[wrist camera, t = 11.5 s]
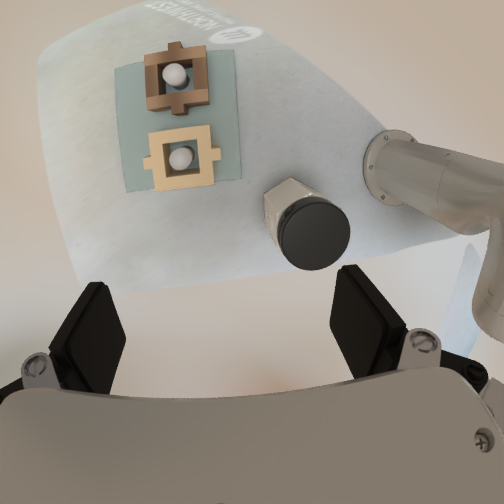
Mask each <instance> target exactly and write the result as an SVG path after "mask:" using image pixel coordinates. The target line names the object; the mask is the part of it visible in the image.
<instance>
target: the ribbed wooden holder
mask: <svg viewBox="0 0 504 504" xmlns="http://www.w3.org/2000/svg"><path fill="white" fill-rule="evenodd" d="M173 63H177V64H180V65H181V66H182V67H183V68H184V69H188V68H193V80H194V90H191V91H183V92H176V93H170V94H166V81H165V80H164V79H163V70H164V69H165V67H166V66H168V65H170V64H173ZM144 66H145V89H146V105H147V110H149V111H153V112H161V111H167V110H171V114H172V115H176V116H183V115H189V114H188V107H195V106H204V105H210V100H209V85H208V68H207V53H206V46H196V47H188V48H183V47H182V44H181V42H180V41H179V42H173V43H168V51H163V52H157V53H152V54H148V55H144Z"/></svg>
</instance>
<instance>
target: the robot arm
mask: <svg viewBox="0 0 504 504" xmlns="http://www.w3.org/2000/svg"><path fill="white" fill-rule="evenodd" d="M368 166H369V168H368ZM363 169H364V177H365V181H366V184H367V187H368V189H369V190H370V192H371V193H372V195H373V196H374V197H375V198H376V199H378V200H379V201H381V202H383V203H385V204H387V205H392V206H395V205H401V204H404V203H405V204H407V205H409V206H411V207H413V208H415V209H416V210H418V211H420V212H422V213H424V214H426V215H427V216H429V217H431V218H433V219H434V220H436V221H438V222H440V223H441V224H443V225H445V226H446V227H448V228H450V229H452V230H453V231H455V232H457V233H459V234H463V235H475V234H479V233H481V232H484V231H486V230H489V229H490V236H489V241H488V246H487V251H486V255H485V259H484V262H483V266H482V269H481V272H480V275H479V279H478V282H477V285H476V288H475V292H474V295H473V300H472V313H473V317H474V319H475V321H476V323H477V325H478V326H479V327H480V328H481V329H482V330H483V331H484V332H485V333H486V334H487V335H489V336H490V337H492V338H494V339H496V340H497V341H500V342H502V343H504V164H502V163H497V162H493V161H490V160H486V159H482V158H478V157H474V156H471V155H467V154H464V153H460V152H456V151H452V150H448V149H443V148H439V147H435V146H430V145H425V144H421V143H418V142H417V140H416V139H415V138H414V137H412V136H411V135H410V134H408V133H406V132H404V131H400V130H387V131H385V132H382V133H381V134H379V135H378V136H376V137H375V139H374V140H373V141H372V142H371V144H370V145H369V147H368V149H367V151H366V154H365V159H364V167H363ZM330 329H331V331H332V333H333V335H334V337H335V339H336V341H337V343H338V345H339V347H340V349H341V352H342V353H343V356H344V358H345V360H346V362H347V364H348V366H349V369H350V371H351V373H352V375H353V377H354V379H353V380H349V381H344V382H339V383H334V384H329V385H323V386H317V387H312V388H306V389H299V390H292V391H285V392H277V393H269V394H261V395H249V396H237V397H219V398H147V397H130V396H117V395H109V394H110V390H111V387H112V383H113V380H114V377H115V373H116V370H117V367H118V364H119V361H120V358H121V355H122V351H123V349H124V346H125V342H126V336H125V333H124V330H123V328H122V325H121V322H120V320H119V317H118V314H117V311H116V308H115V306H114V303H113V300H112V297H111V293H110V290H109V288H108V286H107V285H105V284H104V283H103V282H90V283H89V284H88V285H87V287H86V288H85V290H84V291H83V292H82V294H81V296H80V297H79V298H78V300H77V302H76V303H75V305H74V306H73V308H72V309H71V311H70V312H69V314H68V315H67V317H66V319H65V320H64V322H63V324H62V325H61V327H60V329H59V330H58V332H57V334H56V335H55V337H54V339H53V340H52V342H51V344H50V346H49V347H48V348H49V349H50V351H51V352H50V354H49V355H47V354H46V353H42V352H40V353H35V354H33V355H31V356H29V357H28V358H27V359H26V360H25V361H24V363H23V365H22V367H21V376H22V377H21V378H19V379H17V380H16V381H14V382H12V383H10V384H9V385H7V386H5V387H3V388H1V389H0V504H504V384H502V383H501V382H499V381H498V380H496V379H494V378H491V380H489V379H488V373H487V370H486V369H485V367H484V366H483V365H482V364H480V363H478V362H476V361H474V360H471V359H468V358H465V357H462V356H459V355H456V354H453V353H450V352H447V351H444V350H441V341H440V339H439V338H438V337H437V335H436V334H434V333H433V332H431V331H429V330H427V329H422V328H416V329H412V330H410V331H408V329H407V328H406V324H405V323H404V321H403V320H402V319H401V317H400V316H399V315H398V314H397V312H396V311H395V310H394V309H393V308H392V306H391V305H390V304H389V302H388V301H387V300H386V299H385V297H384V296H383V295H382V294H381V293H380V291H379V290H378V289H377V288H376V287H375V285H374V284H373V283H372V282H371V281H370V279H369V278H368V277H367V276H366V275H365V274H364V272H363V271H362V270H361V269H360V268H359V267H358V265H356V264H355V265H344V266H342V268H341V269H339V270H338V272H337V279H336V286H335V292H334V299H333V304H332V310H331V316H330Z"/></svg>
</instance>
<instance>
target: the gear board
mask: <svg viewBox="0 0 504 504" xmlns="http://www.w3.org/2000/svg"><path fill="white" fill-rule="evenodd" d="M206 53H207V68H208V85H209V100H210V105H204V106H195V107H188V114H189V115H183V116H176V115H172V114H171V110H167V111H161V112H153V111H149V110H147V105H146V89H145V66H144V61H143V62H139V63H134V64H130V65H126V66H122V67H119V68H115V69H114V70H115V98H116V113H117V125H118V135H119V145H120V153H121V161H122V168H123V175H124V181H125V187H126V193H128V192H134V191H141V190H147V189H154V188H155V192H158V191H166V190H173V189H181V188H189V187H198V186H207V185H214V183H215V181H220V180H231V179H241V164H240V148H239V132H238V116H237V99H236V83H235V66H234V50H220V51H208V52H206ZM163 79H164V80H165V81H166V94H170V93H176V92H183V91H191V90H194V80H193V68H188V69H184V68H183V67H182V66H181V65H180V64H177V63H173V64H170V65H168V66H166V67H165V69H164V70H163Z"/></svg>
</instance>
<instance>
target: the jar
mask: <svg viewBox="0 0 504 504" xmlns="http://www.w3.org/2000/svg"><path fill="white" fill-rule="evenodd" d="M264 211H265V225H266V227H267V229H268V231H269V233H270V235H271V237H272V239H273V241H274V243H275V245H276V247H277V249H278V251H281V252H282V253H283V255H284V256H285V257H286V258H287V260H288V261H289V262H290V263H291V264H292V265H294V266H296V267H297V268H300V269H303V270H311V271H312V270H319V269H323V268H326V267H328V266H330V265H331V264H333V263H334V262H336V261H337V260H338V259H339V258H340V257H341V256H342V254H343V253H344V251H345V250H346V248H347V245H348V243H349V239H350V225H349V221H348V219H347V217H346V215H345V214H344V212H343V211H342V210H341V208H339V207H338V206H337V205H335V204H334V203H332V202H331V201H330V200H328V199H327V198H325V197H324V196H323V195H321V194H320V193H318V192H317V191H315V190H314V189H312V188H310V187H308V186H306V185H304V184H302V183H301V182H299V181H297V180H295V179H293V178H291V177H290V178H288V179H287V180H285V181H284V182H282V183H280V184H279V185H277V186H276V187H274V188H273V189H271V190H270V191H268V192H267V193H265V194H264Z"/></svg>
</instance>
